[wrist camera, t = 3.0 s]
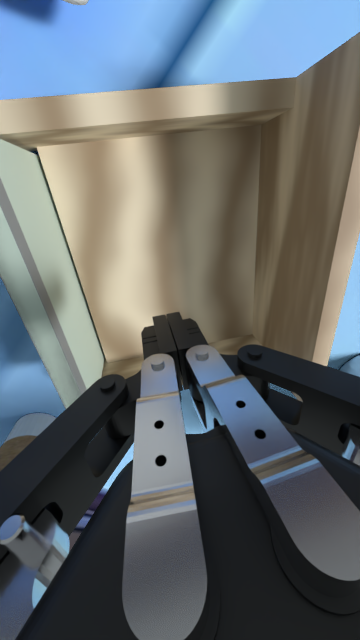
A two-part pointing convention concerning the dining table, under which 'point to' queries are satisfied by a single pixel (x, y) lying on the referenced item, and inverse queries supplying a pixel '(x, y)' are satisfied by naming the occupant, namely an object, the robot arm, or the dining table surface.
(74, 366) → the panel
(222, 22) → the dining table surface
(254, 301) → the tray
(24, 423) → the coffee cup
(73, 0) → the square plate
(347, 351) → the dining table surface
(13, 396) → the dining table surface
